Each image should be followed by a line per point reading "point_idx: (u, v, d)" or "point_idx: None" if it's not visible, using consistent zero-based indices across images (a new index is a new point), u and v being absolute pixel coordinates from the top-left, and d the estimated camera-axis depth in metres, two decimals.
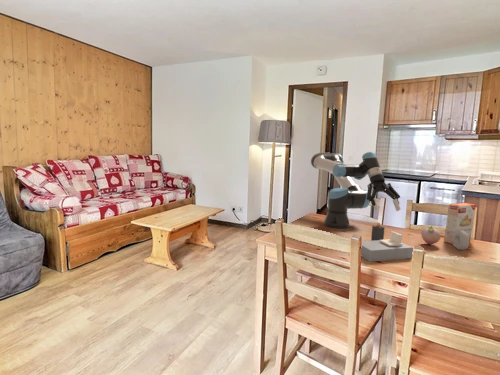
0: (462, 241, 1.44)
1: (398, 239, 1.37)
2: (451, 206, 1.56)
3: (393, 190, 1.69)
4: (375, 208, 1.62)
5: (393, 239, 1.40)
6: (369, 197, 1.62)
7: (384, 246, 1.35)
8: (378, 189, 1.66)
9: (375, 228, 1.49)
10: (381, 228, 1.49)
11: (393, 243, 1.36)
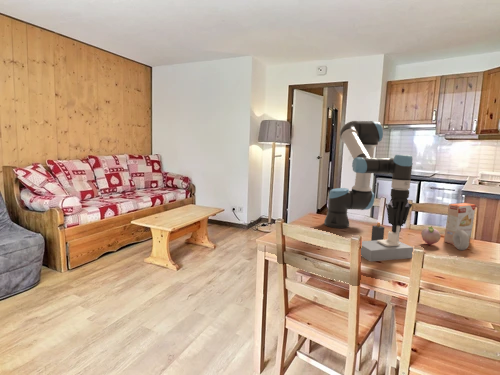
0: (462, 241, 1.44)
1: (395, 239, 1.37)
2: (451, 206, 1.56)
3: (406, 213, 1.37)
4: None
5: (390, 239, 1.40)
6: (393, 224, 1.36)
7: (384, 246, 1.35)
8: (399, 210, 1.35)
9: (375, 228, 1.49)
10: (381, 228, 1.49)
11: (390, 243, 1.36)
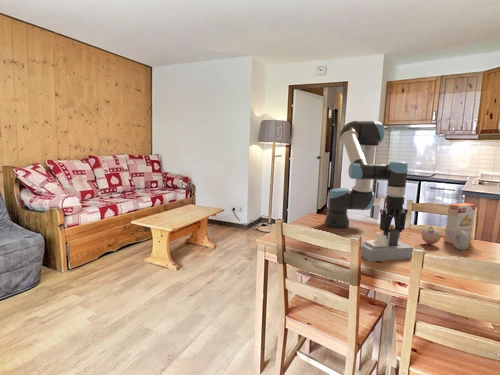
0: (462, 241, 1.44)
1: (383, 240, 1.35)
2: (451, 206, 1.56)
3: (403, 219, 1.38)
4: None
5: (378, 240, 1.38)
6: (384, 230, 1.36)
7: None
8: None
9: None
10: (395, 231, 1.36)
11: (378, 244, 1.34)
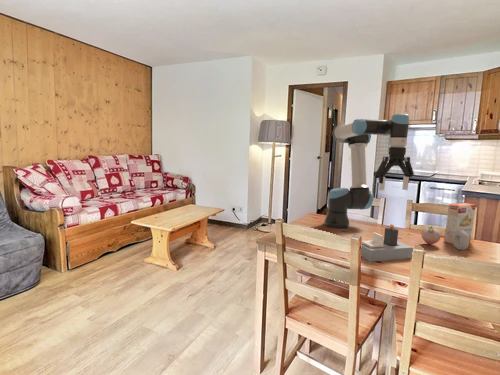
0: (462, 241, 1.44)
1: (380, 240, 1.35)
2: (451, 206, 1.56)
3: (409, 166, 1.47)
4: (380, 186, 1.46)
5: (375, 240, 1.38)
6: (379, 175, 1.43)
7: (384, 246, 1.35)
8: (393, 165, 1.44)
9: (388, 231, 1.38)
10: (395, 231, 1.37)
11: (374, 244, 1.34)
